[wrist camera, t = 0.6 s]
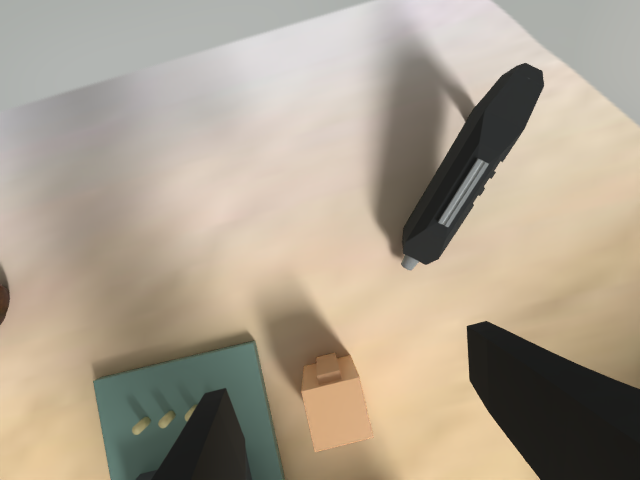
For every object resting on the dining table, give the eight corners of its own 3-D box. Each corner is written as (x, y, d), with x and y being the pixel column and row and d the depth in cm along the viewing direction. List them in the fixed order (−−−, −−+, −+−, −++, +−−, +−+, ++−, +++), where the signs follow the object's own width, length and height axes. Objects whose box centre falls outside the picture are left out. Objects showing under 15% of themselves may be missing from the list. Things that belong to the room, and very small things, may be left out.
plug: (361, 402, 29) (373, 437, 23) (314, 414, 29) (314, 452, 23) (348, 347, 30) (357, 368, 24) (302, 358, 29) (299, 382, 23)
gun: (391, 230, 36) (391, 272, 27) (483, 70, 30) (524, 52, 21) (416, 242, 36) (424, 288, 27) (513, 84, 30) (568, 73, 21)
